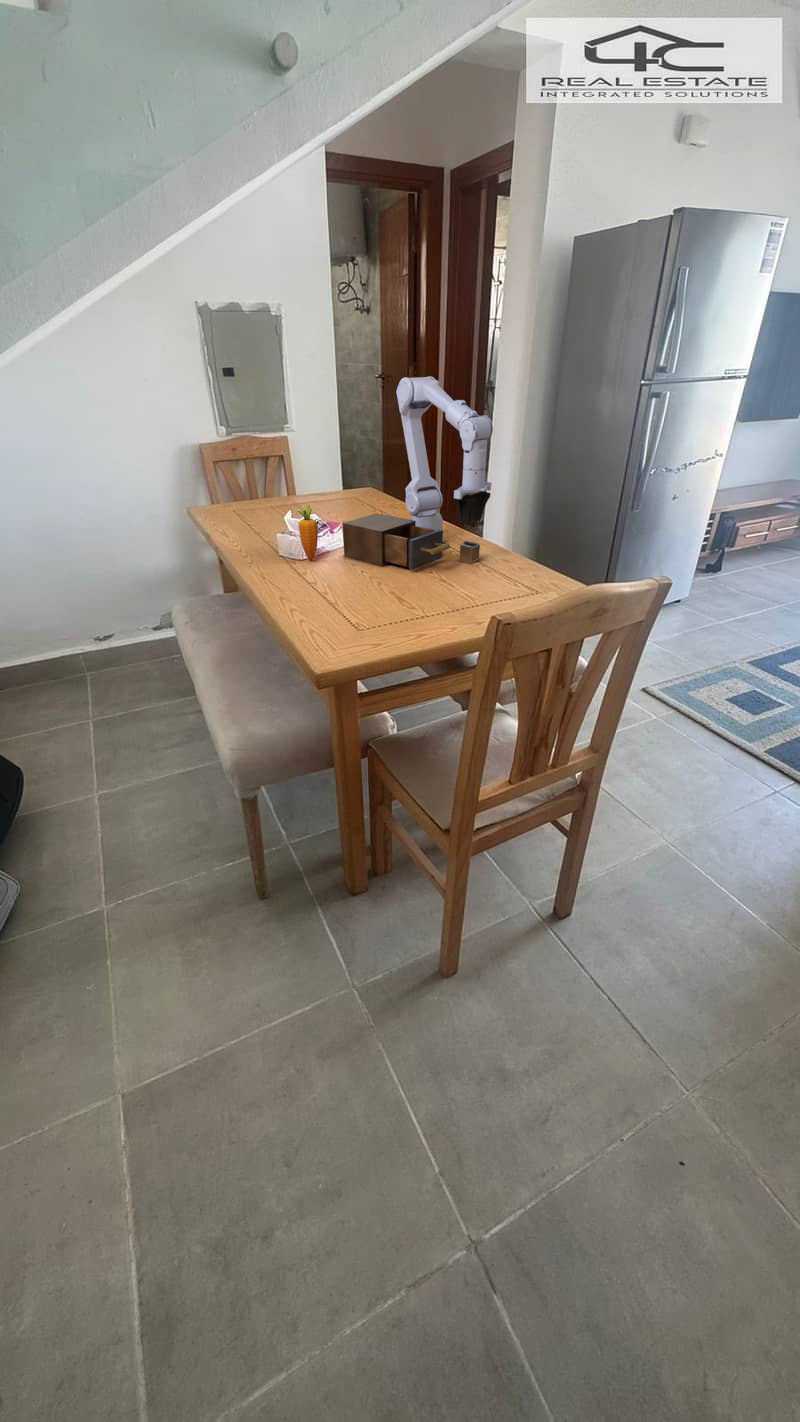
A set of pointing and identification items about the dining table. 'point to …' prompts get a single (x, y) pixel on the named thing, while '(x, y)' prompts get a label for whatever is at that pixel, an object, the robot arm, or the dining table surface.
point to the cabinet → (370, 536)
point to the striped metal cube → (469, 552)
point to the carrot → (308, 533)
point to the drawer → (413, 546)
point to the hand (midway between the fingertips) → (471, 522)
